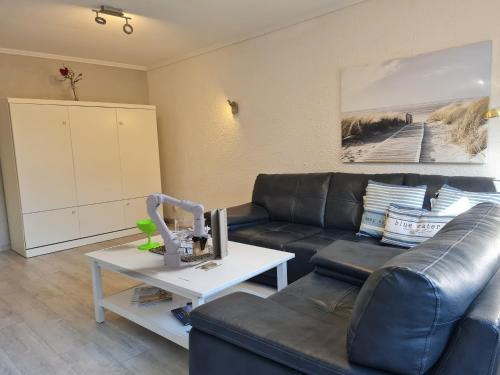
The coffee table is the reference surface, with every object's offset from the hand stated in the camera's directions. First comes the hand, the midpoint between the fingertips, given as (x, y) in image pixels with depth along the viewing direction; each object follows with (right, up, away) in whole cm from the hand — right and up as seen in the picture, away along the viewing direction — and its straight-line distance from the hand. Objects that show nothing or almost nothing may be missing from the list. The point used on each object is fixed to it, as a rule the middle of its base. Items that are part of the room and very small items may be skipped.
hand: (200, 249), depth 206 cm
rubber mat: (-3, -12, -13) cm, 18 cm away
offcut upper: (+5, -9, -1) cm, 11 cm away
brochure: (+10, -8, +18) cm, 22 cm away
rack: (+3, -10, 0) cm, 11 cm away
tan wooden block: (0, -3, 0) cm, 3 cm away
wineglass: (-42, -7, +49) cm, 65 cm away
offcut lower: (+5, -10, -1) cm, 11 cm away
